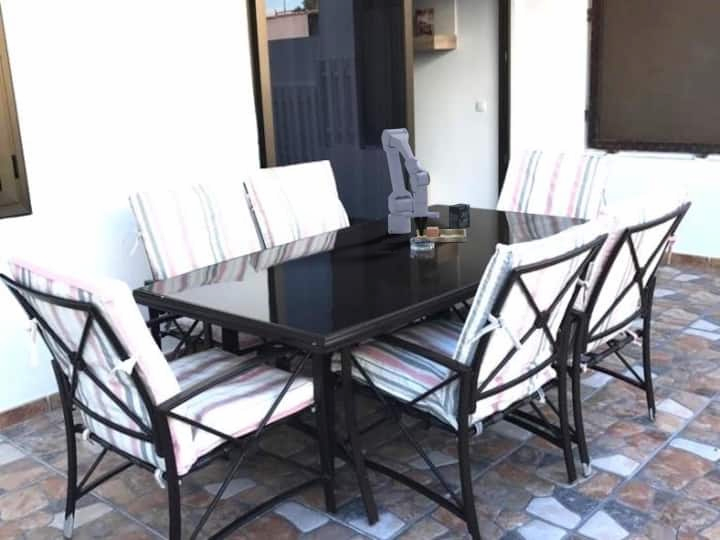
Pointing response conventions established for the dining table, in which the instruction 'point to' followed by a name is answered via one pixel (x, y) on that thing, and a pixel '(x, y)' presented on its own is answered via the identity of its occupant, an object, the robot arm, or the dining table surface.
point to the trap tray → (445, 235)
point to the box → (459, 216)
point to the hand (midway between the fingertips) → (421, 235)
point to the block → (432, 232)
